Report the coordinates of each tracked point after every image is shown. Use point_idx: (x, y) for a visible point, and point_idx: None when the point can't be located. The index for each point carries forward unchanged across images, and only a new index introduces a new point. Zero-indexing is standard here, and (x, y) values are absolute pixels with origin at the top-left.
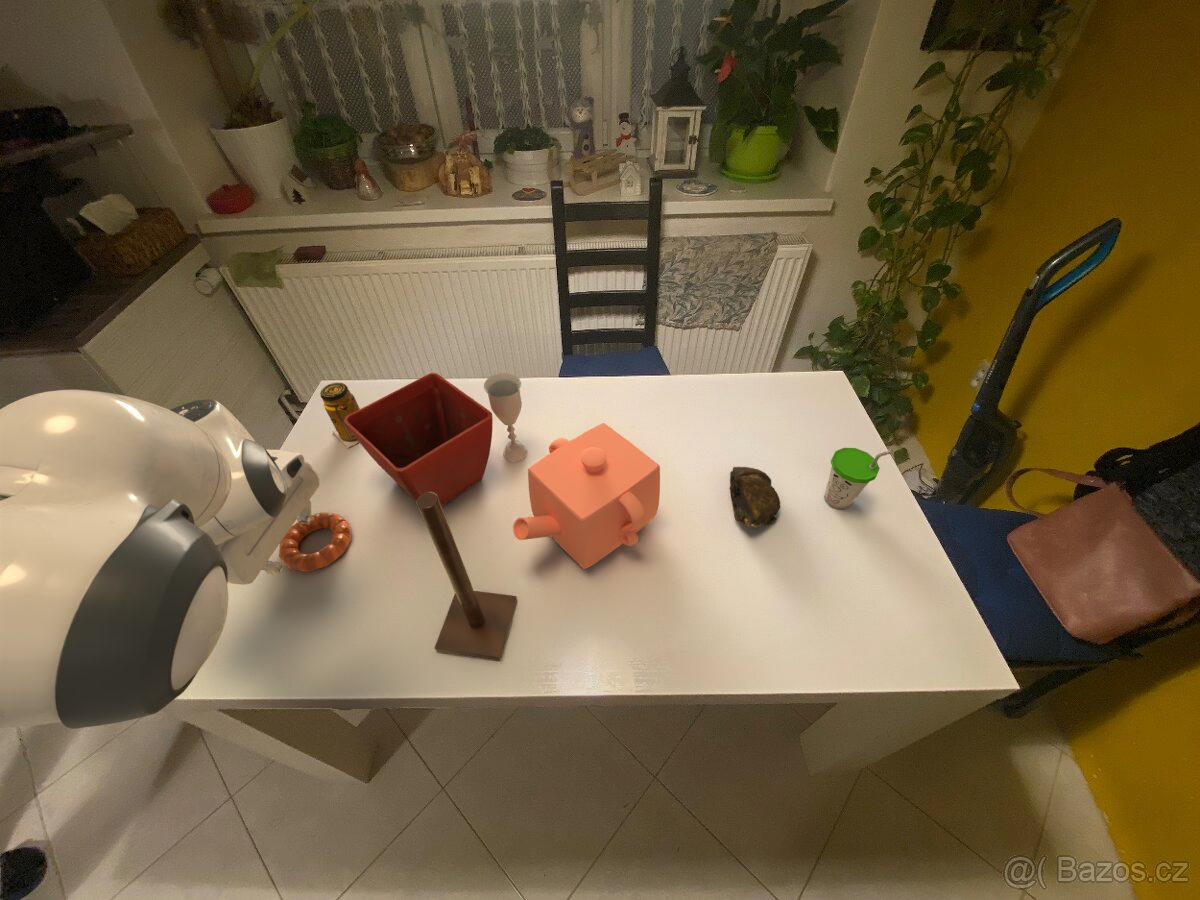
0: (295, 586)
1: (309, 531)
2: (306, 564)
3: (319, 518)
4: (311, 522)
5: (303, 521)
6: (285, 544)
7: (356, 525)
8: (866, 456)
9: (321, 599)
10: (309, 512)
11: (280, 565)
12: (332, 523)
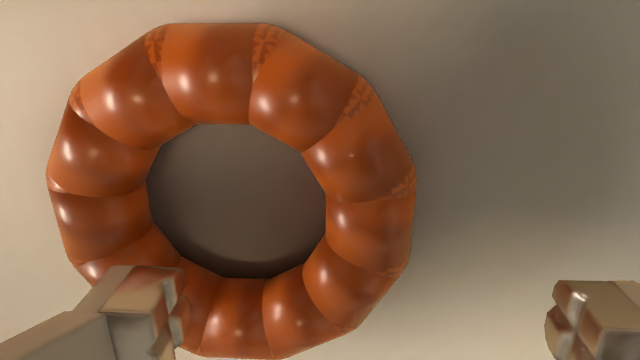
0: (476, 188)
1: (190, 266)
2: (402, 177)
3: (106, 252)
4: (150, 270)
5: (162, 327)
6: (299, 333)
7: (80, 60)
8: None
9: (560, 14)
10: (61, 330)
11: (592, 299)
12: (110, 167)
